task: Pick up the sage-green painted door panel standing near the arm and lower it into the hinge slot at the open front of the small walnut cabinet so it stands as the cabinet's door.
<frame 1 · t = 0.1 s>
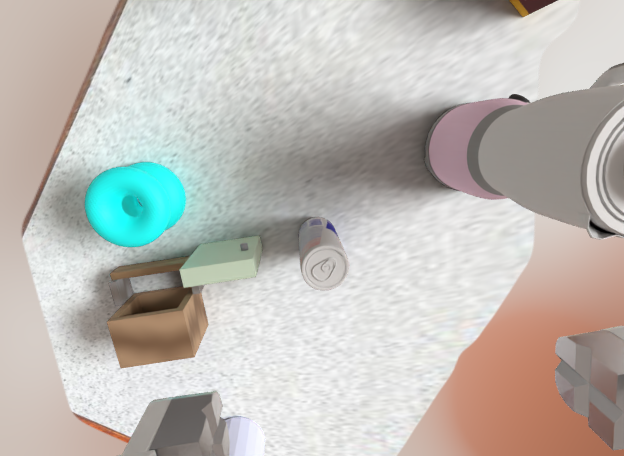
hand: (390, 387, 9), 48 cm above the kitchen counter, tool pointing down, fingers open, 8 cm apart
blender: (469, 137, 56), on the kitchen counter
cabinet: (171, 309, 60), on the kitchen counter
donuts: (153, 196, 55), on the kitchen counter
soap bottle: (239, 436, 66), on the kitchen counter
door: (231, 247, 58), on the kitchen counter
beverage can: (316, 234, 58), on the kitchen counter
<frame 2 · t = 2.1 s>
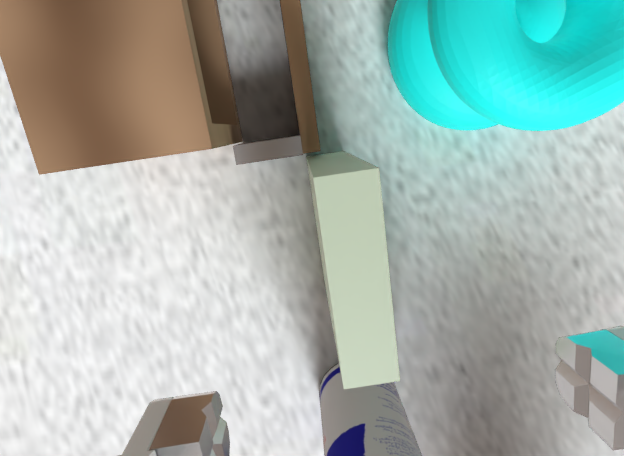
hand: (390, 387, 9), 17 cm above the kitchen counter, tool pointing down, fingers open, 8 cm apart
cabinet: (168, 65, 23), on the kitchen counter
donuts: (463, 45, 23), on the kitchen counter
door: (333, 221, 26), on the kitchen counter
beverage can: (355, 385, 29), on the kitchen counter
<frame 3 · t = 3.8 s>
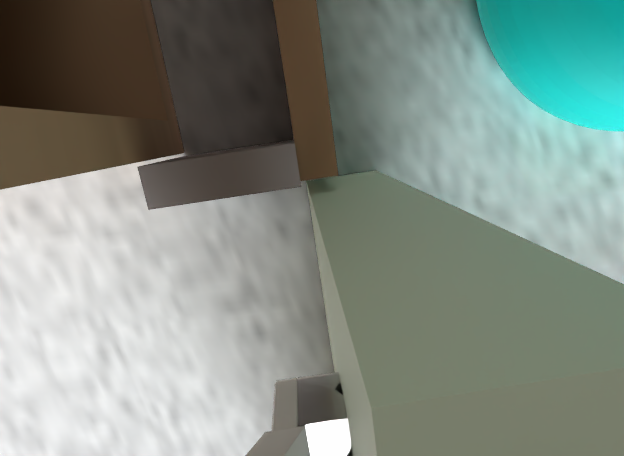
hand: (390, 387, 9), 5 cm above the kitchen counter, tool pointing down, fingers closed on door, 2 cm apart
door: (356, 296, 14), on the kitchen counter, touching gripper
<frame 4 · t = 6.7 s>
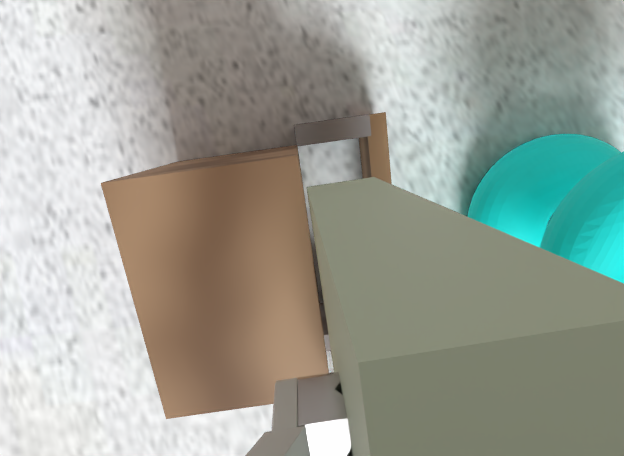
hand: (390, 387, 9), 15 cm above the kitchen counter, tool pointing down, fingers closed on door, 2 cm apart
cabinet: (252, 235, 23), on the kitchen counter
donuts: (535, 214, 24), on the kitchen counter
door: (355, 299, 14), point 9 cm above the kitchen counter, touching gripper
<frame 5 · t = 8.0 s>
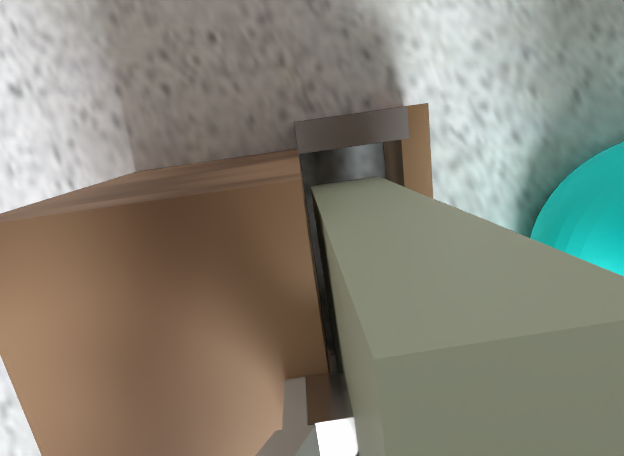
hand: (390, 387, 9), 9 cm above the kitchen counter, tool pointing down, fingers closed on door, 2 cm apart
cabinet: (239, 269, 18), on the kitchen counter
donuts: (615, 240, 18), on the kitchen counter
door: (359, 299, 14), point 3 cm above the kitchen counter, touching cabinet, gripper
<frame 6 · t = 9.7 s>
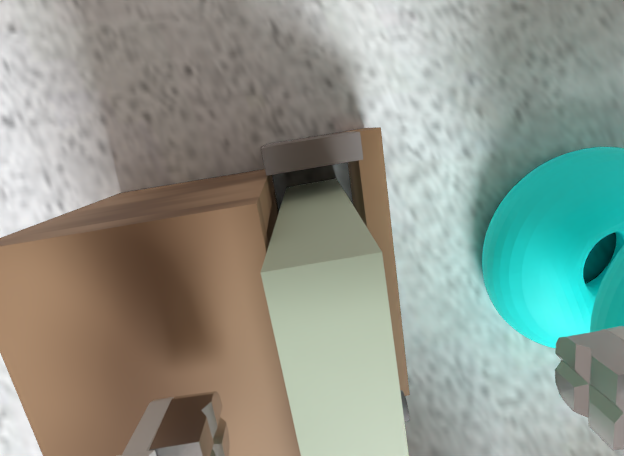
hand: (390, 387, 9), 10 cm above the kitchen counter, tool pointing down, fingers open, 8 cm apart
cabinet: (219, 280, 19), on the kitchen counter
donuts: (562, 243, 20), on the kitchen counter
door: (326, 270, 19), resting in cabinet
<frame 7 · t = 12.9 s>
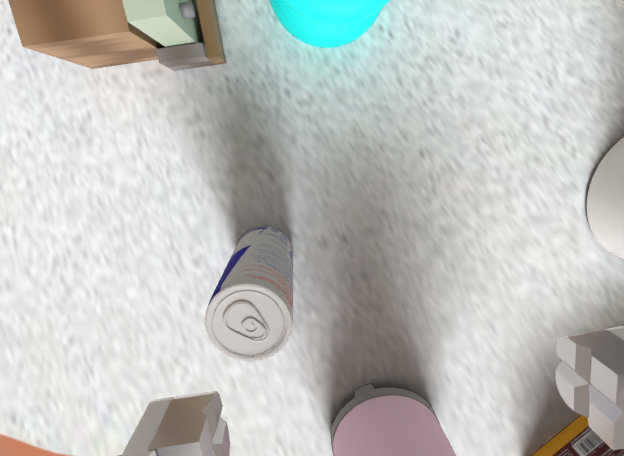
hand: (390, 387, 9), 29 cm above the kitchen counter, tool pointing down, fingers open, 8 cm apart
blender: (393, 430, 45), on the kitchen counter
cabinet: (116, 0, 32), on the kitchen counter
supplement box: (590, 446, 47), on the kitchen counter
beverage can: (264, 251, 39), on the kitchen counter
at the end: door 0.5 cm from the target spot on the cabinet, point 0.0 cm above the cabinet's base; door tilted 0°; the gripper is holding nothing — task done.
